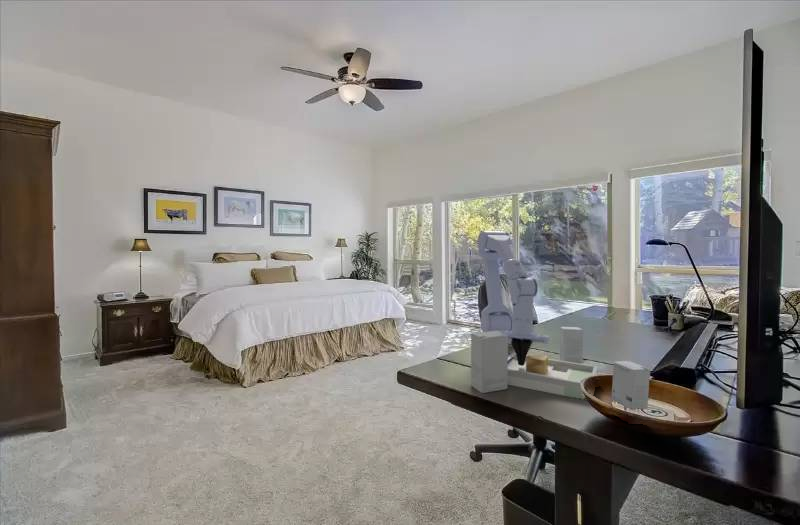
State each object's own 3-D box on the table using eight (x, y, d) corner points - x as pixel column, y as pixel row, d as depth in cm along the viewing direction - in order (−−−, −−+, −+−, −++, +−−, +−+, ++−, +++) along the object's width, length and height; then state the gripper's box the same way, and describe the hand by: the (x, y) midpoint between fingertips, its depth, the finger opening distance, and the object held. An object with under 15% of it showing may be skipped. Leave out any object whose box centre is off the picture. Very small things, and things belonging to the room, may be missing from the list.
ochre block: (525, 371, 105) (526, 357, 105) (529, 366, 110) (530, 353, 110) (544, 374, 103) (544, 360, 103) (547, 369, 107) (547, 356, 107)
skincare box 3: (609, 413, 84) (611, 360, 84) (626, 412, 85) (628, 360, 85) (630, 426, 78) (632, 369, 78) (649, 424, 79) (650, 368, 78)
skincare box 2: (577, 362, 123) (578, 326, 123) (582, 366, 119) (583, 329, 119) (558, 361, 124) (559, 326, 123) (563, 365, 120) (564, 329, 119)
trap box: (498, 382, 103) (498, 368, 103) (514, 366, 118) (514, 353, 118) (592, 401, 91) (593, 385, 91) (597, 380, 106) (597, 366, 106)
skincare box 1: (495, 382, 103) (496, 329, 103) (508, 390, 98) (509, 334, 97) (469, 386, 100) (470, 331, 100) (481, 394, 95) (482, 336, 94)
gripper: (493, 318, 109) (493, 363, 109) (546, 323, 101) (544, 372, 101) (500, 314, 115) (499, 358, 115) (550, 319, 107) (549, 366, 107)
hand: (521, 364), depth 109 cm, fingers closed
